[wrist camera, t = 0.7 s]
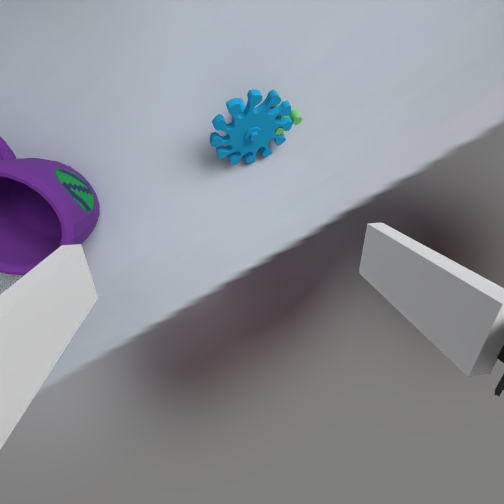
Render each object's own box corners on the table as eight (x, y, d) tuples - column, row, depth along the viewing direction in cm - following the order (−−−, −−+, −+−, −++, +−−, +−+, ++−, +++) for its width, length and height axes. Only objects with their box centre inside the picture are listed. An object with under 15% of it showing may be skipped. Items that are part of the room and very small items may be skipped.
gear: (215, 175, 34) (209, 108, 25) (203, 141, 36) (193, 67, 27) (293, 156, 36) (314, 88, 27) (277, 125, 38) (292, 50, 29)
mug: (125, 218, 36) (98, 246, 27) (54, 255, 37) (5, 295, 28) (23, 82, 29) (-60, 60, 20) (-63, 132, 29) (-182, 132, 20)
